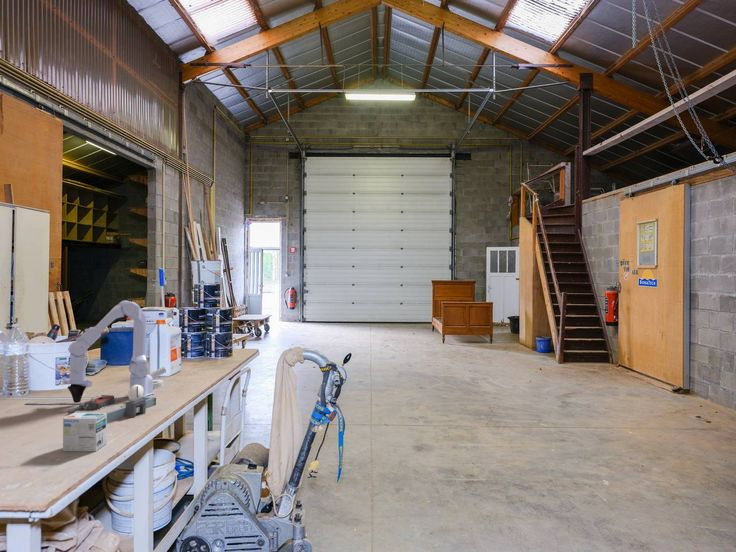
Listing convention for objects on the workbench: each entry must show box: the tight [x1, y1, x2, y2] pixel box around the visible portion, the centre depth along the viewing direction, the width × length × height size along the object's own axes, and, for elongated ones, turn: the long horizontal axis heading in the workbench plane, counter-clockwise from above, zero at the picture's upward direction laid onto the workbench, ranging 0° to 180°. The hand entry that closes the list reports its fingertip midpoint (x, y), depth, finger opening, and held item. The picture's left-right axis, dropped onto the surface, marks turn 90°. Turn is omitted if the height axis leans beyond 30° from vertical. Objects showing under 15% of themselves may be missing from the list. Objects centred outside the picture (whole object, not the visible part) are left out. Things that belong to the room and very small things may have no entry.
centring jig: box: [73, 385, 157, 422], centre depth 185 cm, size 27×18×12 cm
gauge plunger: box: [119, 403, 140, 414], centre depth 184 cm, size 2×8×2 cm, turn 70°
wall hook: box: [148, 366, 167, 389], centre depth 227 cm, size 9×10×10 cm
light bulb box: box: [62, 411, 108, 452], centre depth 149 cm, size 11×7×11 cm, turn 92°
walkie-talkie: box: [67, 394, 115, 414], centre depth 191 cm, size 9×4×20 cm
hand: (77, 402), depth 194 cm, fingers closed
